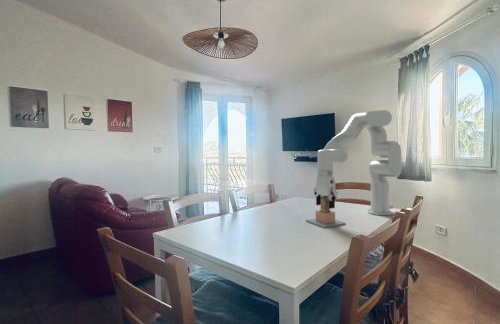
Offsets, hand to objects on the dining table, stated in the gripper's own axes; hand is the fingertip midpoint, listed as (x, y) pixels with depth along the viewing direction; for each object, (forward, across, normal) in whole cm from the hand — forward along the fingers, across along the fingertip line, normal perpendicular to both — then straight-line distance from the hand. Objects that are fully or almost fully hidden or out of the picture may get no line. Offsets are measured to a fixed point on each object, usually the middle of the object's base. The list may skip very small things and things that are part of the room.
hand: (325, 206), depth 136 cm
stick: (+7, 0, 0) cm, 7 cm away
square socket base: (+9, 0, 0) cm, 9 cm away
